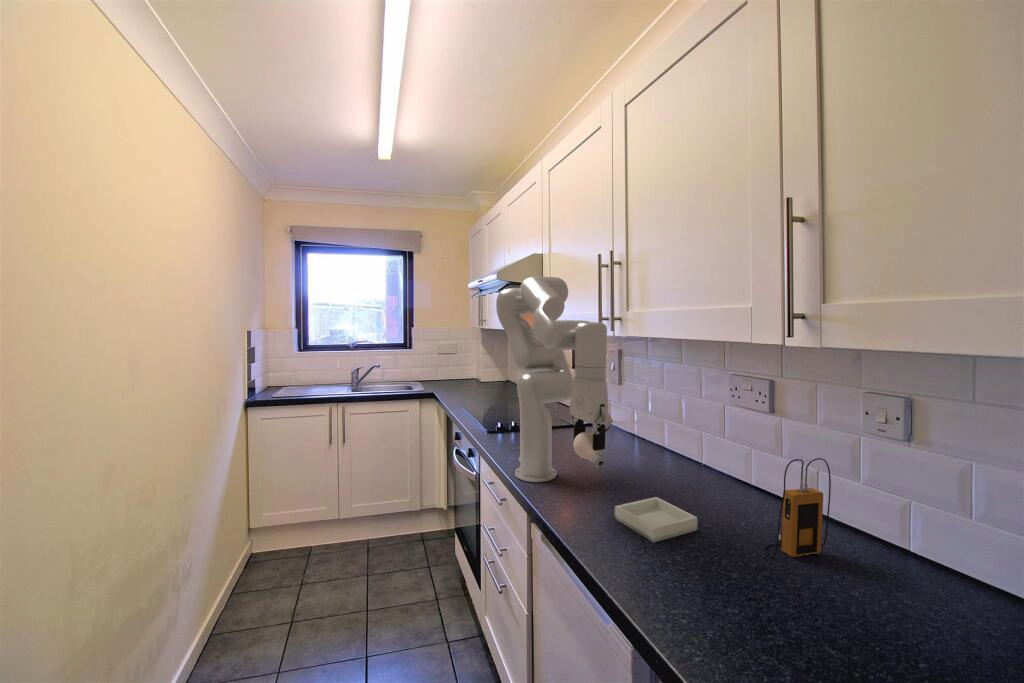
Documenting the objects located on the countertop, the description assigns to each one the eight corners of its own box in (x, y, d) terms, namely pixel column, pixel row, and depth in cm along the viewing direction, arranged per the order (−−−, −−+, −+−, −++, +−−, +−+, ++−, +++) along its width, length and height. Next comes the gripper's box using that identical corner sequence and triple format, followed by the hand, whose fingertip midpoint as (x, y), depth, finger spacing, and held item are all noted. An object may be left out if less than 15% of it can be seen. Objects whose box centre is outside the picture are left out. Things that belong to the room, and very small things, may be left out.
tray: (614, 518, 110) (614, 506, 110) (656, 508, 116) (656, 496, 116) (653, 542, 99) (653, 529, 98) (697, 530, 104) (697, 517, 104)
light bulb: (614, 448, 105) (592, 423, 115) (588, 456, 104) (568, 430, 113) (614, 471, 108) (593, 445, 118) (588, 479, 106) (569, 451, 116)
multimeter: (796, 530, 104) (800, 444, 103) (836, 553, 94) (840, 457, 93) (740, 537, 101) (743, 448, 100) (775, 561, 91) (779, 462, 90)
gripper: (558, 369, 117) (557, 437, 118) (599, 379, 102) (597, 457, 103) (582, 368, 120) (581, 434, 122) (626, 377, 105) (624, 453, 106)
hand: (588, 444), depth 112 cm, fingers closed on light bulb, 7 cm apart
